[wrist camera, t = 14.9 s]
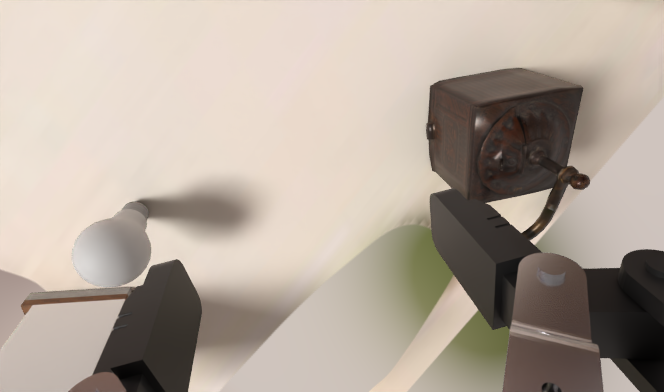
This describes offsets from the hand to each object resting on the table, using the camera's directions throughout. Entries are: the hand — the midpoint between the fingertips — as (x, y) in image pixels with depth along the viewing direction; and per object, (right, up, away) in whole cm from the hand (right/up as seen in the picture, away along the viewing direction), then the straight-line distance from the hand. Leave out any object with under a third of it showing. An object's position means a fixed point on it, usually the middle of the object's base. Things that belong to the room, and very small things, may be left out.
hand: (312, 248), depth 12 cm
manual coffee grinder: (+17, +8, +32) cm, 37 cm away
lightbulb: (-20, 0, +28) cm, 35 cm away
